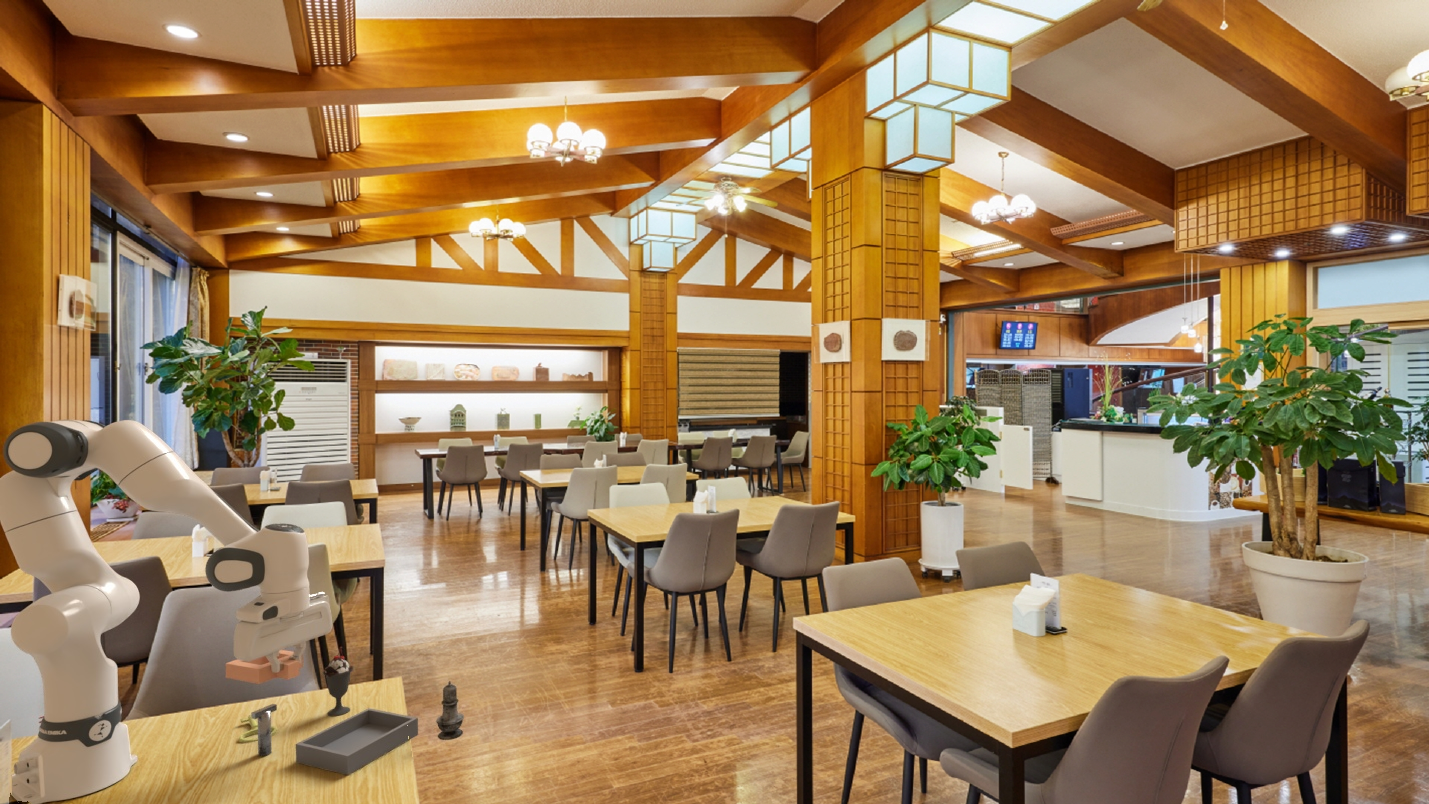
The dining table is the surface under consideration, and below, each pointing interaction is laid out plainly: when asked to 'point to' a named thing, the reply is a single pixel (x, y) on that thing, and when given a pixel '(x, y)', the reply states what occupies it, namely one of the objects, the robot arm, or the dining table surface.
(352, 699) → the dining table surface
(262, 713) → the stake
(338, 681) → the sundae
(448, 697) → the salt shaker
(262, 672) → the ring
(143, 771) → the dining table surface
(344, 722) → the tray
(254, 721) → the key
